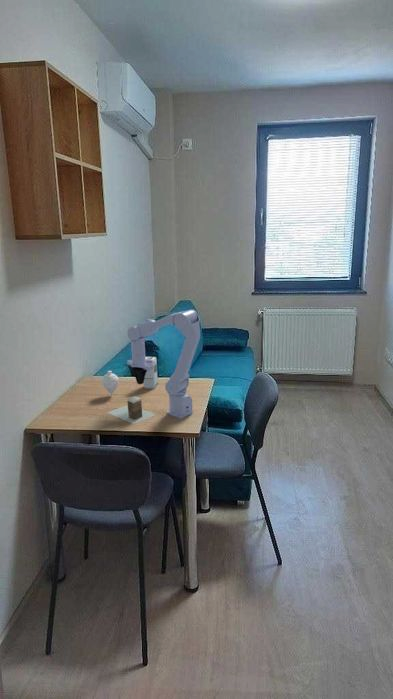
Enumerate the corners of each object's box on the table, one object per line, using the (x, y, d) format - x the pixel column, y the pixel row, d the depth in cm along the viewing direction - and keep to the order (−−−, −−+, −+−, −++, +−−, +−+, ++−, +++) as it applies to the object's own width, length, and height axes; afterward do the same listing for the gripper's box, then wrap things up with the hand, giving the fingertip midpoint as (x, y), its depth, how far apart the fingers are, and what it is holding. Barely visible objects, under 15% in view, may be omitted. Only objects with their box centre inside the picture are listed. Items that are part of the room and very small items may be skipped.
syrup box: (155, 388, 220) (153, 360, 217) (143, 388, 222) (141, 359, 218) (158, 384, 226) (156, 356, 222) (147, 384, 227) (145, 356, 223)
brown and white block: (142, 416, 187) (141, 398, 185) (134, 419, 185) (133, 401, 183) (136, 414, 190) (134, 396, 188) (128, 417, 187) (127, 398, 185)
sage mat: (156, 415, 189) (156, 414, 189) (133, 425, 181) (133, 424, 181) (129, 405, 201) (129, 404, 201) (107, 413, 193) (106, 412, 193)
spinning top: (102, 393, 216) (100, 369, 212) (118, 391, 218) (116, 367, 215) (104, 399, 209) (102, 374, 205) (121, 397, 211) (119, 372, 208)
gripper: (120, 352, 196) (122, 382, 199) (142, 358, 186) (144, 389, 189) (133, 349, 200) (135, 378, 204) (155, 354, 191) (156, 385, 194)
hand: (140, 383), depth 197 cm, fingers closed
